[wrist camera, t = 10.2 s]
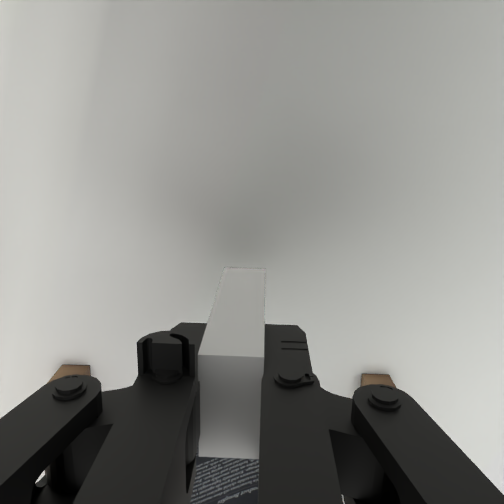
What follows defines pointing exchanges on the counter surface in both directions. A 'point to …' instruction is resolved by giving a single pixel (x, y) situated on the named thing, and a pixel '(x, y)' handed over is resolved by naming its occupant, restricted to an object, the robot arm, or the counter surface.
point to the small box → (225, 480)
